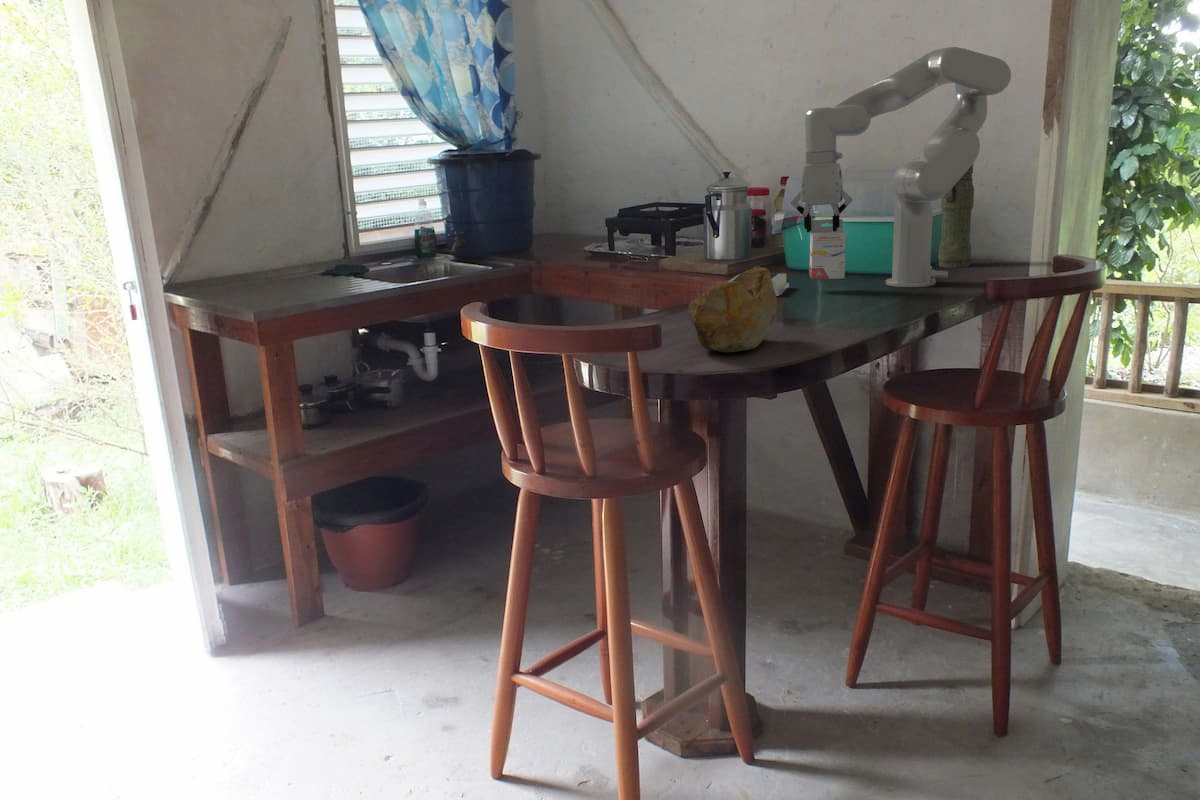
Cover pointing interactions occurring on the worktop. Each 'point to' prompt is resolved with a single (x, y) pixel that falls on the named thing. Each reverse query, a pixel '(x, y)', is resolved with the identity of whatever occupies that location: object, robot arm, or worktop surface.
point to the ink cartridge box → (827, 250)
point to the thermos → (957, 223)
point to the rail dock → (775, 283)
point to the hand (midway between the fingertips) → (821, 230)
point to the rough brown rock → (735, 312)
